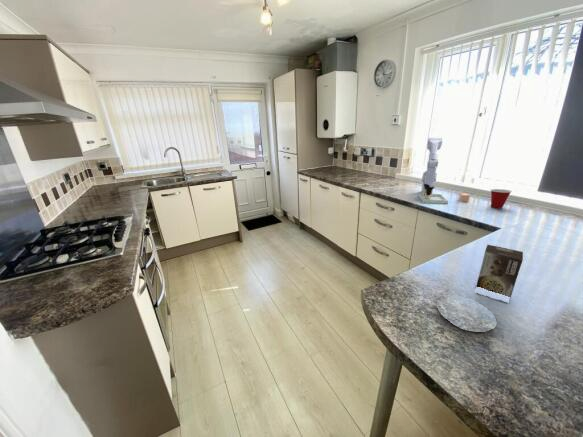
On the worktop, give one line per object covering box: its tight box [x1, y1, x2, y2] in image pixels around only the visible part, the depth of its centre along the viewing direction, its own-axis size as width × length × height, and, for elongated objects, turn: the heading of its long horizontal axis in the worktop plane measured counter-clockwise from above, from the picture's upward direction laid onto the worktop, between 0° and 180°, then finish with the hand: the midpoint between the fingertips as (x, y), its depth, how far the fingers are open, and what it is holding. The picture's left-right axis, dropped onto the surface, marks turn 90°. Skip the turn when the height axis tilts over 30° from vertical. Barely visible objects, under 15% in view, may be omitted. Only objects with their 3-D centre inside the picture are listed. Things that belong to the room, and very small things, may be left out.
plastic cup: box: [490, 188, 512, 210], centre depth 161 cm, size 11×11×12 cm
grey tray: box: [417, 192, 449, 205], centre depth 183 cm, size 18×16×2 cm
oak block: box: [424, 189, 434, 197], centre depth 185 cm, size 4×4×5 cm
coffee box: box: [475, 244, 524, 298], centre depth 79 cm, size 9×6×16 cm
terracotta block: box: [458, 192, 470, 203], centre depth 178 cm, size 4×4×5 cm
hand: (427, 194), depth 185 cm, fingers closed on oak block, 4 cm apart
